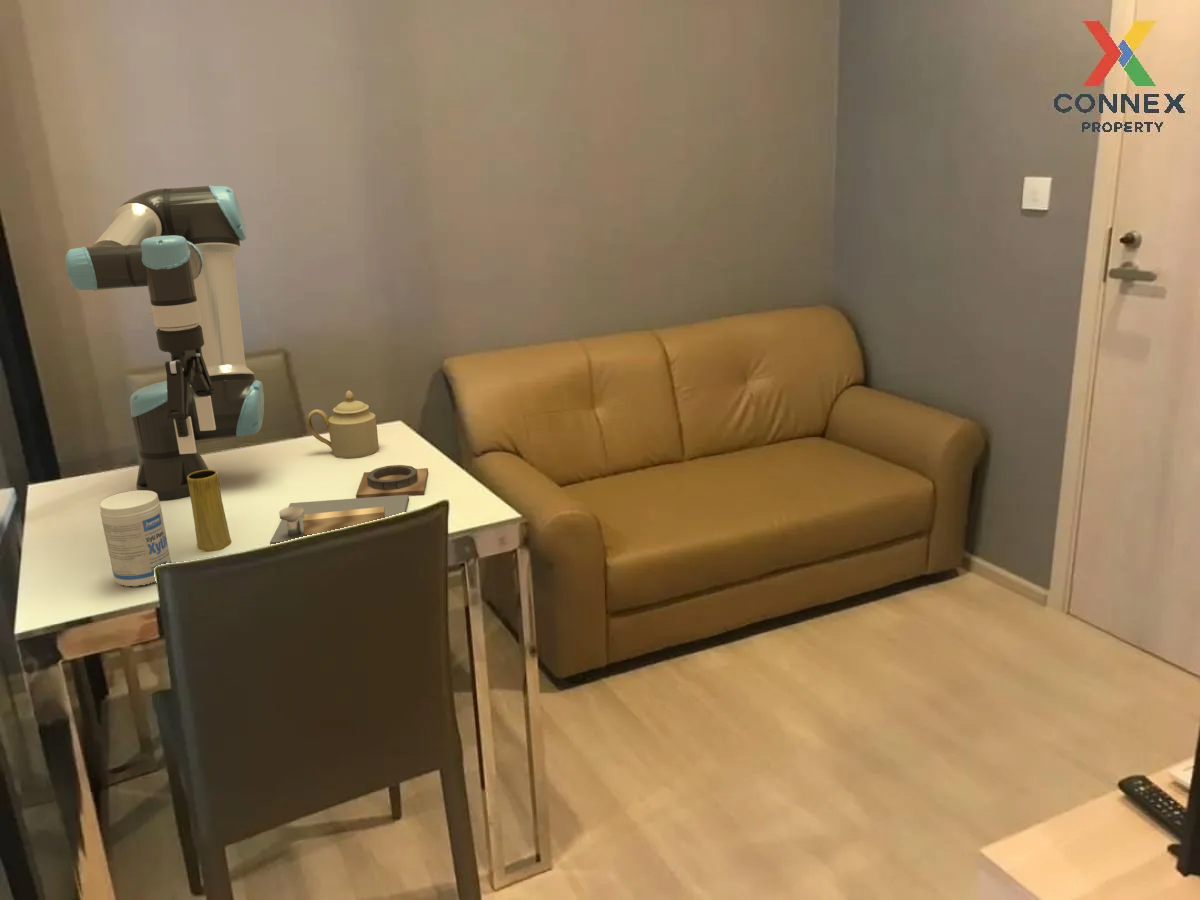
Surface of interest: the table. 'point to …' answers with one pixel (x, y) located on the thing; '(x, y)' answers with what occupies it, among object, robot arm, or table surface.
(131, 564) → the supplement tub
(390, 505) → the board
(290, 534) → the pivot post
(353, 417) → the sugar bowl
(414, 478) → the socket block
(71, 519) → the table surface
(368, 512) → the folding leg
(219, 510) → the vase
